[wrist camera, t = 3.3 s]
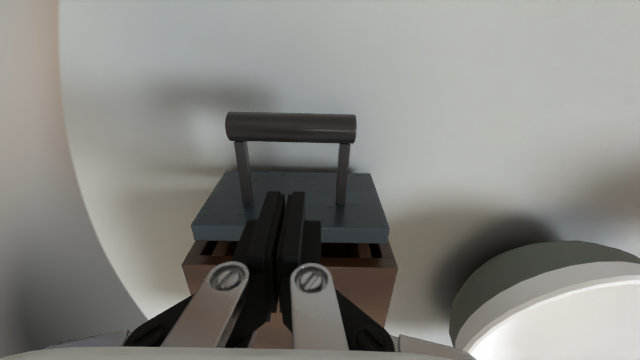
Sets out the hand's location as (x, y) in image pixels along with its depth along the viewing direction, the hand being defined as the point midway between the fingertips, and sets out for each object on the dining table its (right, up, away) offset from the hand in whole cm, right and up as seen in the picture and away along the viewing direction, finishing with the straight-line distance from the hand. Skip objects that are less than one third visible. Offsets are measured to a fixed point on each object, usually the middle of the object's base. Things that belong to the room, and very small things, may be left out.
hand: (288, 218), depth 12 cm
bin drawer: (0, -1, +11) cm, 11 cm away
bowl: (+22, -8, +16) cm, 29 cm away
